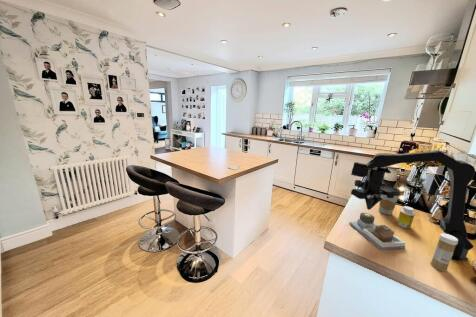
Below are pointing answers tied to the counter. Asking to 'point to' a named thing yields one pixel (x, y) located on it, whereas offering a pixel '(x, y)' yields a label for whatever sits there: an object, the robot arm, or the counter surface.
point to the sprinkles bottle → (444, 251)
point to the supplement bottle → (406, 217)
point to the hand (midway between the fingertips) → (368, 209)
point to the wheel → (367, 217)
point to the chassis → (368, 232)
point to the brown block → (383, 233)
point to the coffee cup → (388, 202)
